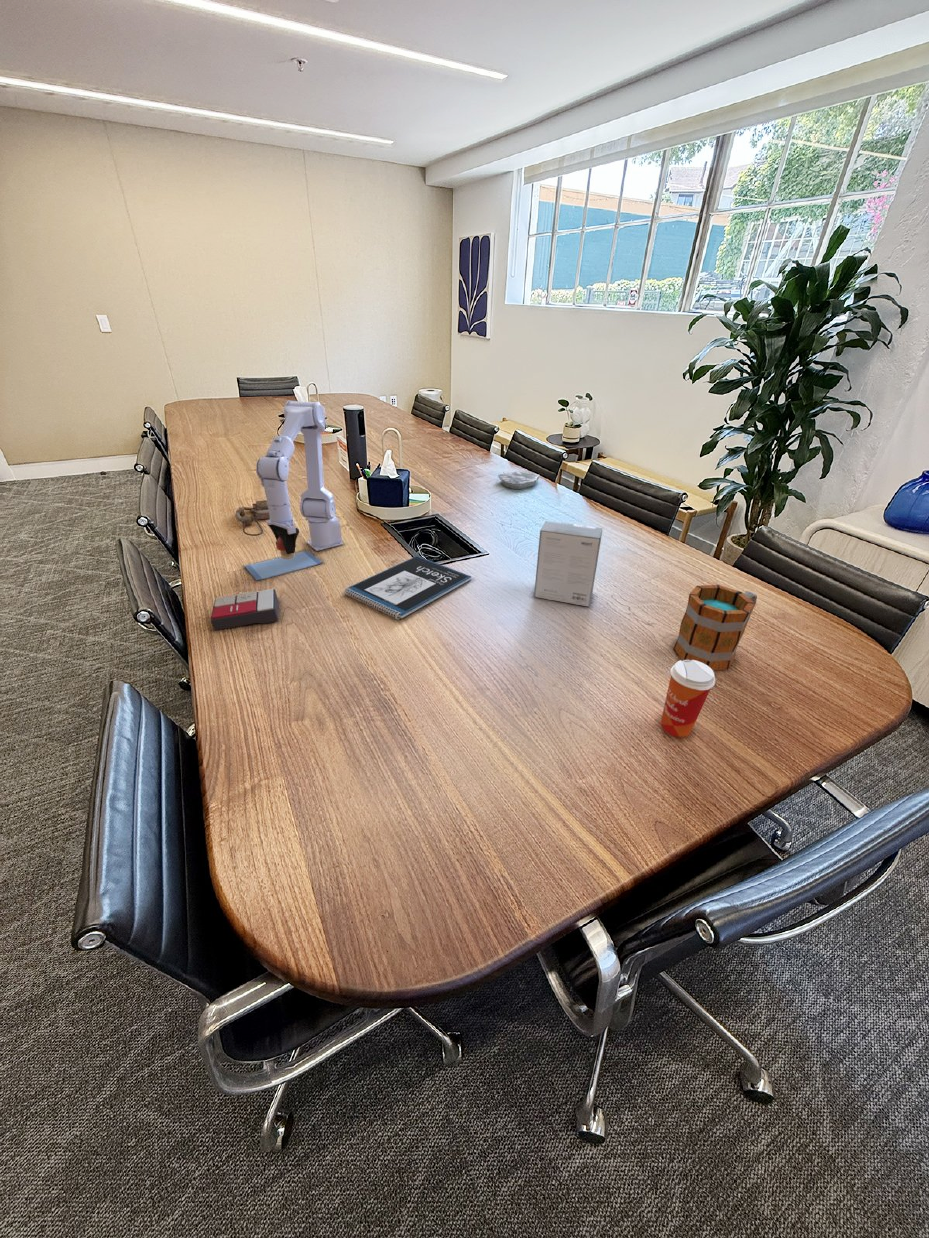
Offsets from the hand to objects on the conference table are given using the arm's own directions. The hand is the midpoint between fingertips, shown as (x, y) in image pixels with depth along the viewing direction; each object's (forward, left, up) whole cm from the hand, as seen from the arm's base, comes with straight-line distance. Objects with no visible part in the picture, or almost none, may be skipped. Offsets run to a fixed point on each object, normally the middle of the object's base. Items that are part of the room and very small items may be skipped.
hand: (287, 549), depth 144 cm
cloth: (-1, -9, -9) cm, 13 cm away
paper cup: (-37, +102, -9) cm, 109 cm away
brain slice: (-115, -30, -9) cm, 119 cm away
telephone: (-7, -50, -9) cm, 51 cm away
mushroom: (0, 0, -2) cm, 2 cm away
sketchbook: (-25, +24, -9) cm, 36 cm away
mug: (-67, +92, -9) cm, 114 cm away
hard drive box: (-57, +53, -9) cm, 79 cm away
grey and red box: (+17, +13, -9) cm, 23 cm away
